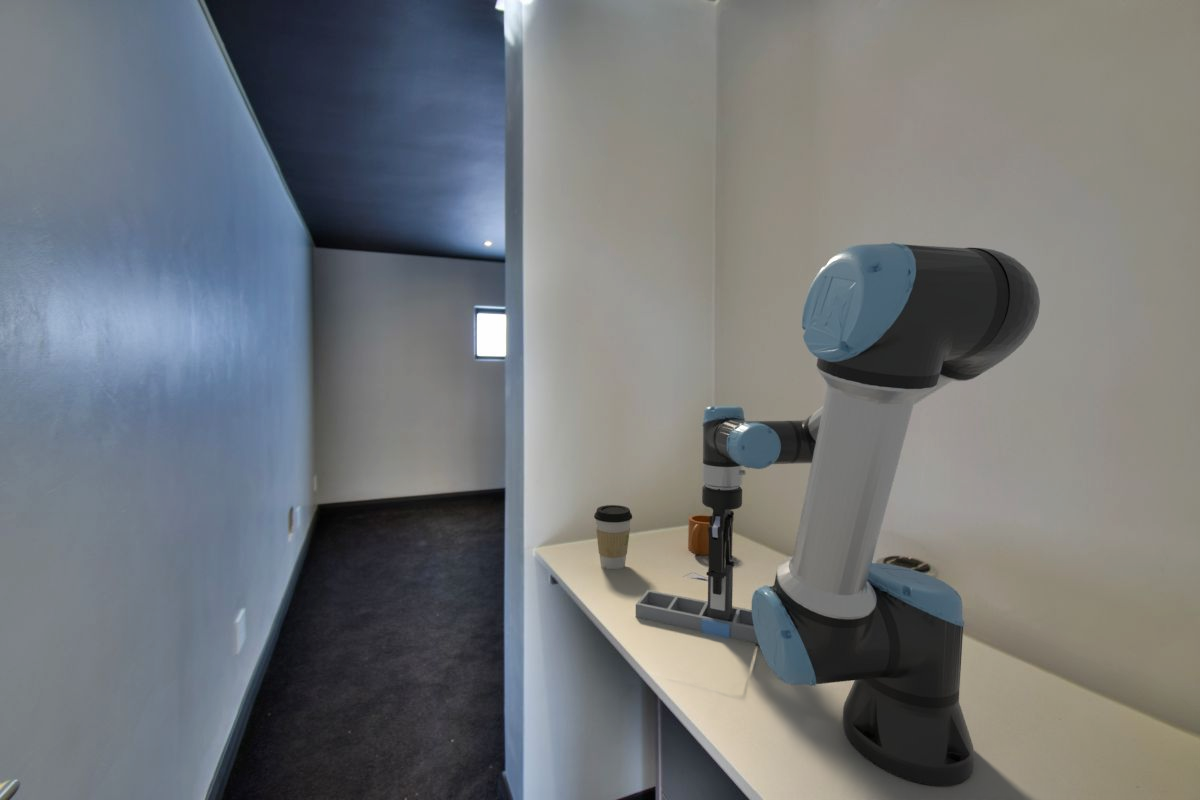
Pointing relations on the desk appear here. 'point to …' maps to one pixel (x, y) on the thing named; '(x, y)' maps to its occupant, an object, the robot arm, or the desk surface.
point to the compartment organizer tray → (695, 616)
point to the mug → (698, 534)
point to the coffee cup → (613, 535)
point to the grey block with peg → (727, 613)
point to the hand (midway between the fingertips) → (720, 603)
